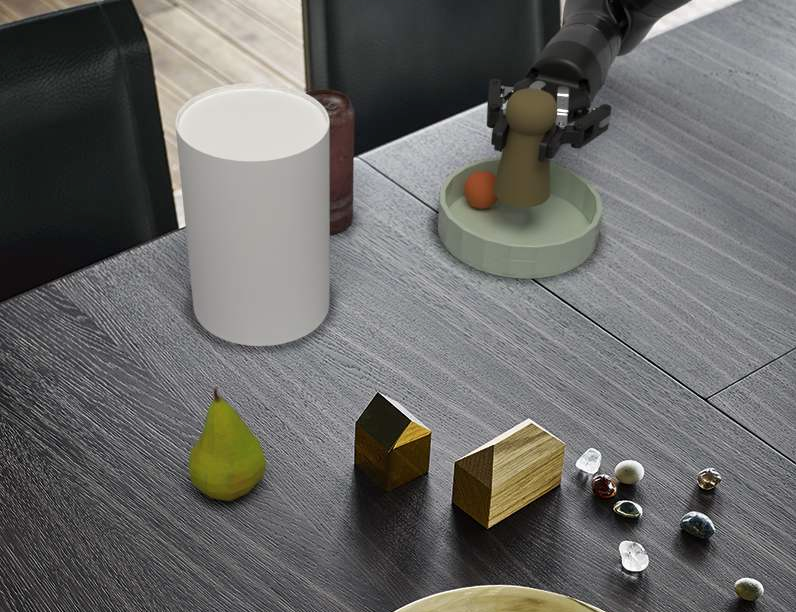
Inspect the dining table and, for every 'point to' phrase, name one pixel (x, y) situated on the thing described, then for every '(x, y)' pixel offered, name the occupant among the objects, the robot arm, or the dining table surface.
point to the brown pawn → (525, 149)
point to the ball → (480, 189)
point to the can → (339, 156)
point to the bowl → (521, 226)
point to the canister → (256, 211)
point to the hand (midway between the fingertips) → (520, 148)
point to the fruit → (226, 454)
